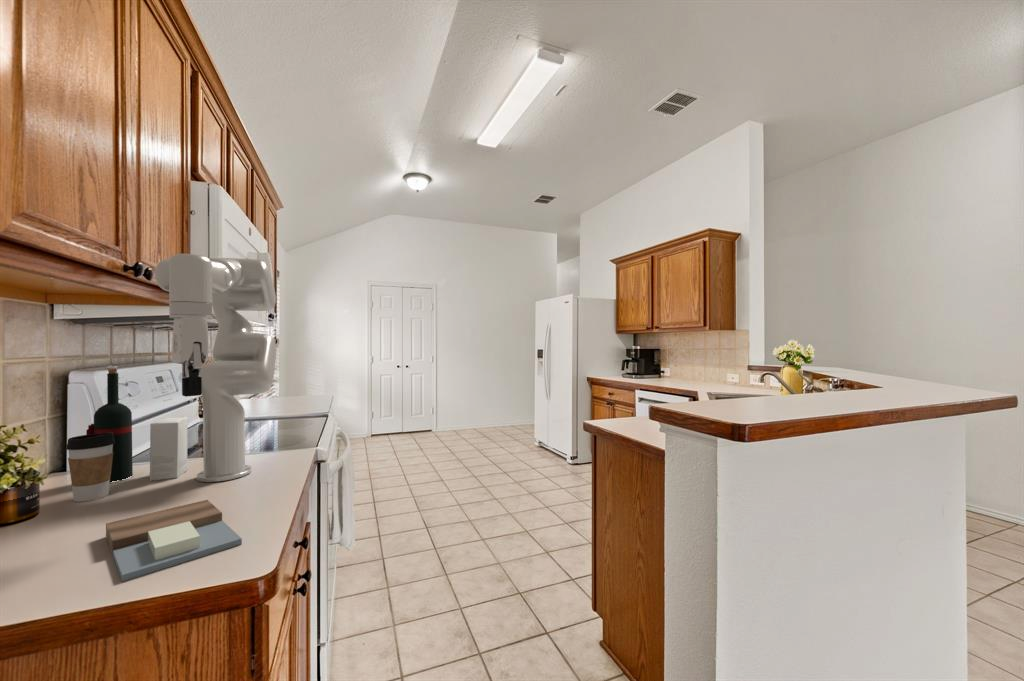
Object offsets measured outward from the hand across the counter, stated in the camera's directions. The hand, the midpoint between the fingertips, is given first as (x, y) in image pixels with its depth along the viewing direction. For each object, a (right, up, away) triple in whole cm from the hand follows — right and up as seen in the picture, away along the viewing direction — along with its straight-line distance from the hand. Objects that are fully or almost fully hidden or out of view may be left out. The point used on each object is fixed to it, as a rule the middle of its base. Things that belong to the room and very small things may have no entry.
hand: (191, 395), depth 93 cm
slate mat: (+11, -25, -18) cm, 33 cm away
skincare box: (-25, -26, +25) cm, 44 cm away
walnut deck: (+3, -25, -10) cm, 27 cm away
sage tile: (+11, -24, -18) cm, 32 cm away
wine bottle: (-39, -26, +22) cm, 52 cm away
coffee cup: (-31, -26, +9) cm, 41 cm away
